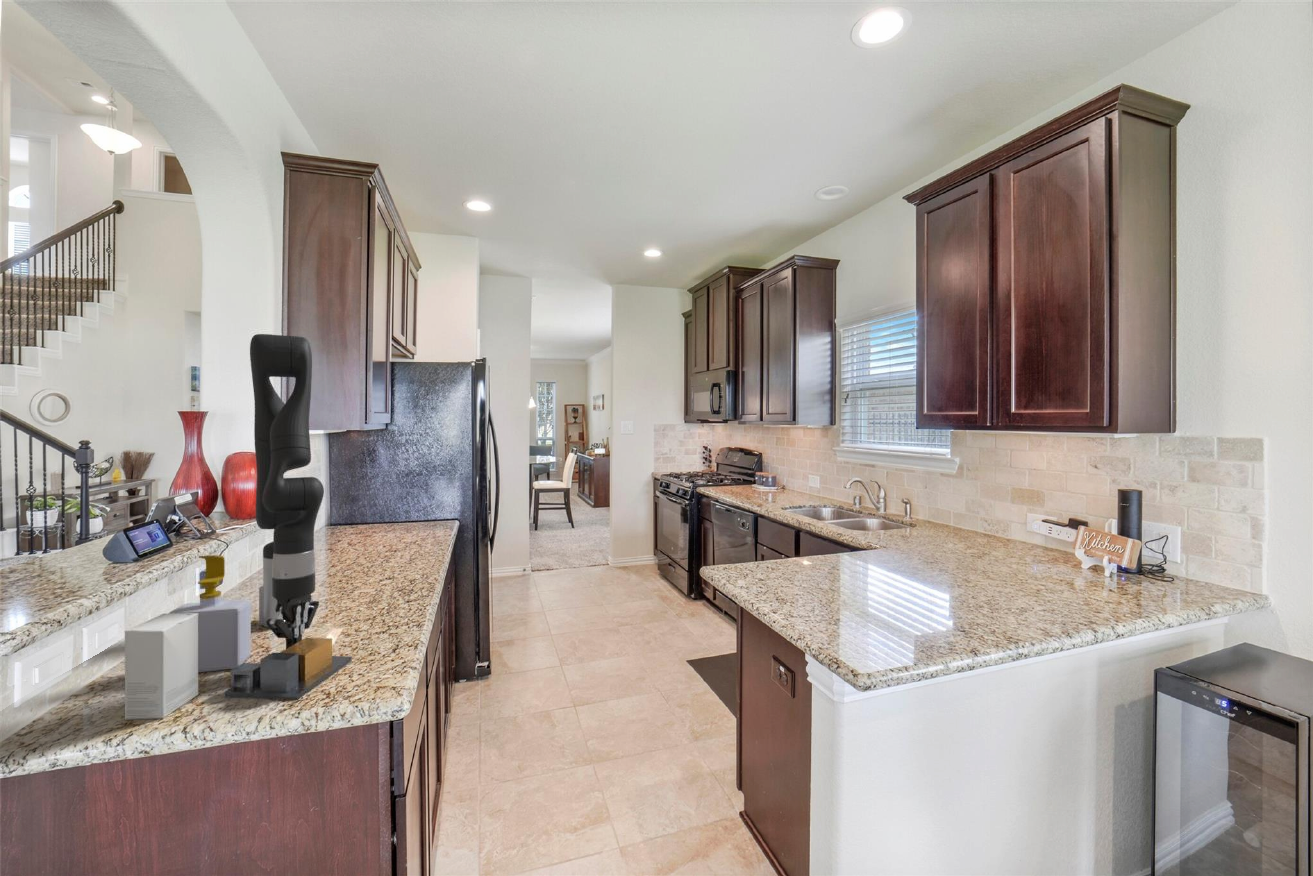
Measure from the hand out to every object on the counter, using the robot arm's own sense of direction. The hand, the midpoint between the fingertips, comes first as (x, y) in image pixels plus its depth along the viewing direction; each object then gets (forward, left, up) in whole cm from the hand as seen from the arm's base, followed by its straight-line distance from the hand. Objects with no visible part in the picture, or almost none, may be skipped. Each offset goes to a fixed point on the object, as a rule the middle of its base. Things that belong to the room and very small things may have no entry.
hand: (294, 653), depth 111 cm
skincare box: (-10, -18, -2) cm, 21 cm away
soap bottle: (-16, -2, -2) cm, 17 cm away
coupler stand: (+4, -6, -2) cm, 8 cm away
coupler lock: (+6, -5, -1) cm, 8 cm away
